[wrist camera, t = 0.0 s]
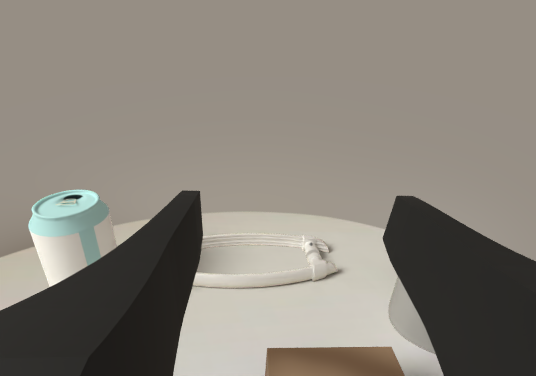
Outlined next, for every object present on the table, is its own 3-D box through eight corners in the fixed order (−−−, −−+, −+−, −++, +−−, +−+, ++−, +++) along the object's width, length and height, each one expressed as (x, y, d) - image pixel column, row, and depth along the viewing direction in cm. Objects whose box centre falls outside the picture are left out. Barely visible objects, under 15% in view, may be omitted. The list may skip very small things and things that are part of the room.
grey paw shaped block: (528, 344, 32) (568, 283, 28) (429, 374, 28) (460, 309, 24) (450, 277, 41) (472, 224, 37) (367, 293, 37) (383, 236, 33)
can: (46, 291, 35) (13, 201, 29) (108, 262, 40) (89, 180, 34) (69, 326, 31) (36, 229, 26) (135, 289, 36) (118, 202, 30)
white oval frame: (158, 246, 44) (322, 242, 47) (140, 296, 35) (343, 288, 38) (156, 230, 43) (325, 228, 46) (136, 279, 34) (346, 272, 37)
